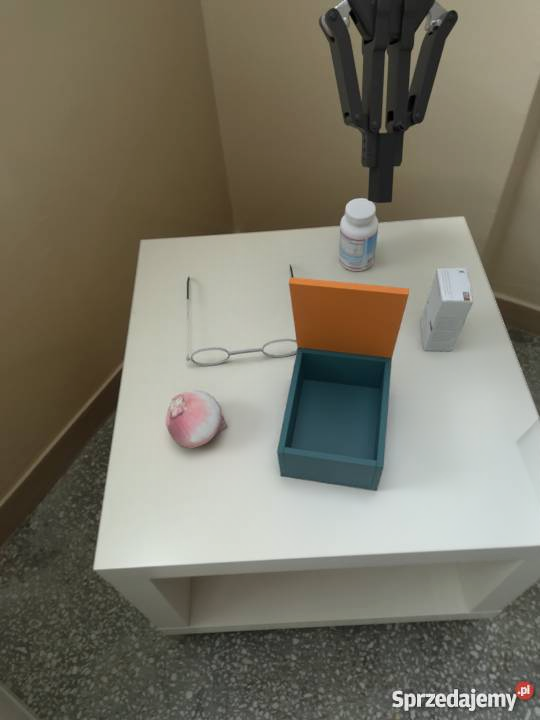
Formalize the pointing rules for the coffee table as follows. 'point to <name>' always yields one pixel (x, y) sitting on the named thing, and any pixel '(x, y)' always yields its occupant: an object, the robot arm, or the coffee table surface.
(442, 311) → the cosmetic box
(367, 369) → the box
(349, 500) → the coffee table surface
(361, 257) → the pill bottle
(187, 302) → the eyeglasses
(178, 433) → the onion
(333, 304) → the lid
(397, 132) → the robot arm
